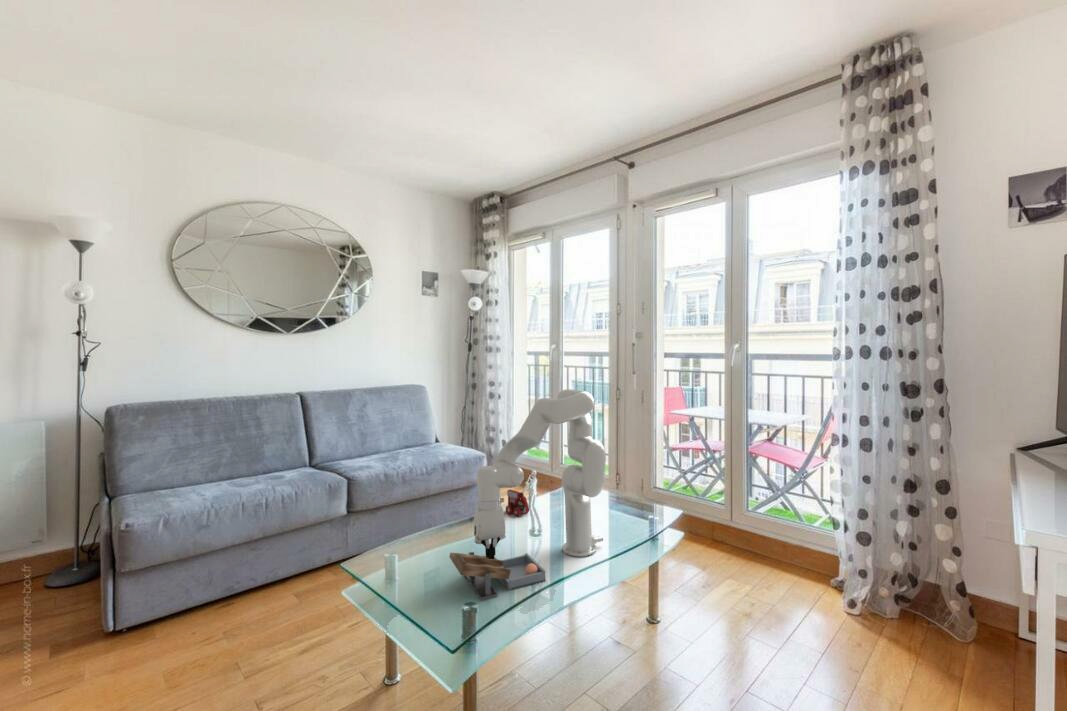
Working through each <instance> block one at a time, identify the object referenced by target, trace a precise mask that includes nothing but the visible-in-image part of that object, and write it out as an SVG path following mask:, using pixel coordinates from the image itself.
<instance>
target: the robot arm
mask: <svg viewBox="0 0 1067 711" xmlns="http://www.w3.org/2000/svg"><path fill="white" fill-rule="evenodd" d="M594 406H595V398H594V396H593V395H592V394H591V393H589V392H588V391H584V390H577V389H563V390H561V391H559V392H558V394H557V396H556V398H549V397H542V398H539V399H538V400H537V401H536V402H535V403H534V405H533V407H532V408H531V410H530V412H529V413H528V415H527V417H526V419H525V421H524V422H523V424H522V426H521V427H520V429H519V431H518V432H517V433H516V434H515V435H514V436H513V437H512V438H510V439H509V440H508V442H506V443H505V444H504V445H503V447H502V448H501V449H500V450H499V453H498V454H497V456H495V457H496V458H495V460H494V461H493V464H492V465H484V466H481V467H479V468H478V469H477V471H476V474H477V478H476V479H477V480H476V482H477V507H475V510H474V517H473V536H474V539H473V540H474V543H475V544H476V545H483V546H484V548H485V549H484V550H485V556H486V557H488V559H494V557H496V547H497V545H498V544H499V542H500V541H501V540H504V539H505V538H506V522H505V521H506V520H505V514H504V513H505V512H504V509H503V506H502V503H504V502H505V498H504V497H503V498H502V497H501V488H503V489H505V488H508V489H509V488H516V487H518V486H520V485H521V484H522V483H523V482H524V479H525V474H524V473H525V472H524V471H523V469H522V468H521V467H520V466H518V465H516V464H515V463H516V461H517V460H518V459H519V457H521V456H522V454H523V453H525V452H527V451H528V450H531V449H533V448H536V447H537V446H540V445H541V442H542V441H543V439H544V438H545V435H546V434H547V431H548V429H549V428H550V426H551V424H553V425H558V424H559V425H560V424H564V423H568V424H569V425H568V426H569V427H568V428H569V429H568V440H567V442H568V443H567V455H568V457H569V459H571V460H573V461H574V462H577V463H580V464H581V465H579V464H570V465H567V466H566V467H565V468H564V470H563V471H562V475H561V483H562V490H563V493H564V506H565V508H564V509H565V510H564V511H565V512H564V513H565V538H566V540H565V541H566V542H565V543H563V544H562V552H563V553H564V554H566V555H568V556H571V557H578V558H579V557H581V558H583V557H588V555H589V556H592V555H593V554H595V553H596V551H597V546H596V544H597V543H600V542H603V541H604V537H603V536H602V535H599V536H597V535H596V534H594V535H592V507H591V506H592V505H591V502H592V501H591V498H595V497H597V496H599V495H600V494H601V492H602V490H603V488H604V483H605V475H606V474H605V471H606V470H605V469H606V459H607V458H606V457H607V456H606V455H607V454H606V450H605V447H604V444H602V442H601V441H599V440H597V439H596V438H595V439H594V438H593V437H592V436H593V420H592V417H591V412H592V410H593V409H594ZM591 554H592V555H591Z"/></svg>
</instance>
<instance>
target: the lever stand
mask: <svg viewBox="0 0 1067 711" xmlns="http://www.w3.org/2000/svg"><path fill="white" fill-rule="evenodd" d="M468 554H470V555H475V552H474V551H469V552H468ZM463 576H464V577H465V579H466V580H467V582H468V583H469V586H470V587H471V588H472V589H473V591H474V593H475V595H477V597H478V599H479V600H480V601H481V602H483V601H488V600H490V599H495V598H497V597H498V596H497V592H496V591H495V590H494V588H493V587H492V583H491V578H490V572H486V573H484V577H479V576H467V575H463Z"/></svg>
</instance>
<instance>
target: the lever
mask: <svg viewBox="0 0 1067 711" xmlns="http://www.w3.org/2000/svg"><path fill="white" fill-rule="evenodd" d="M449 558H450V561H451V562H452V563H453V565H454V567H455V568H456V570H457V571H458V572H459V574H460V576H464V575H467V576H479V577H484V573H486V572H490V579H499V578H502V579H509V576H510V571H511V569H510V568H504V567H503V560H504V559H497V558H496V556H494V559H488V557H486V555H480V554H479V555H476V554H474V555H470V554H469V553H459V552H450V553H449Z"/></svg>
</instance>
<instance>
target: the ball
mask: <svg viewBox="0 0 1067 711" xmlns="http://www.w3.org/2000/svg"><path fill="white" fill-rule="evenodd" d="M537 571H538V569H537V566H536V565H535V564H533V563H531V564H528V565H527V567H526V574H527V575H530V574H534V573H537Z"/></svg>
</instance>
